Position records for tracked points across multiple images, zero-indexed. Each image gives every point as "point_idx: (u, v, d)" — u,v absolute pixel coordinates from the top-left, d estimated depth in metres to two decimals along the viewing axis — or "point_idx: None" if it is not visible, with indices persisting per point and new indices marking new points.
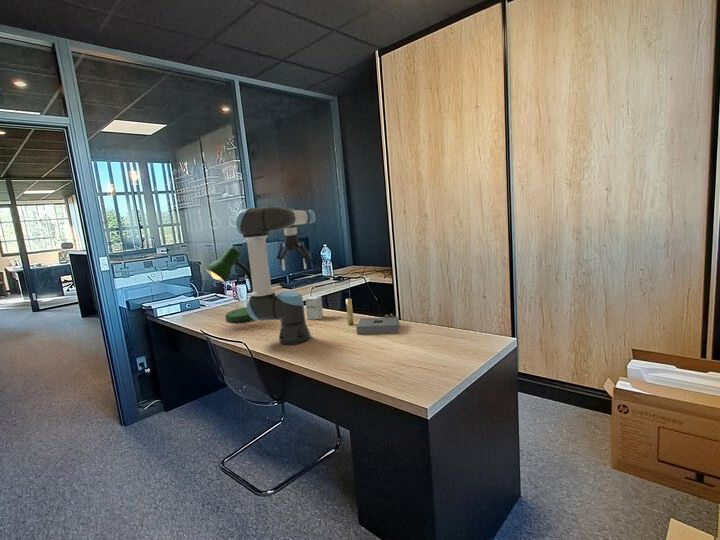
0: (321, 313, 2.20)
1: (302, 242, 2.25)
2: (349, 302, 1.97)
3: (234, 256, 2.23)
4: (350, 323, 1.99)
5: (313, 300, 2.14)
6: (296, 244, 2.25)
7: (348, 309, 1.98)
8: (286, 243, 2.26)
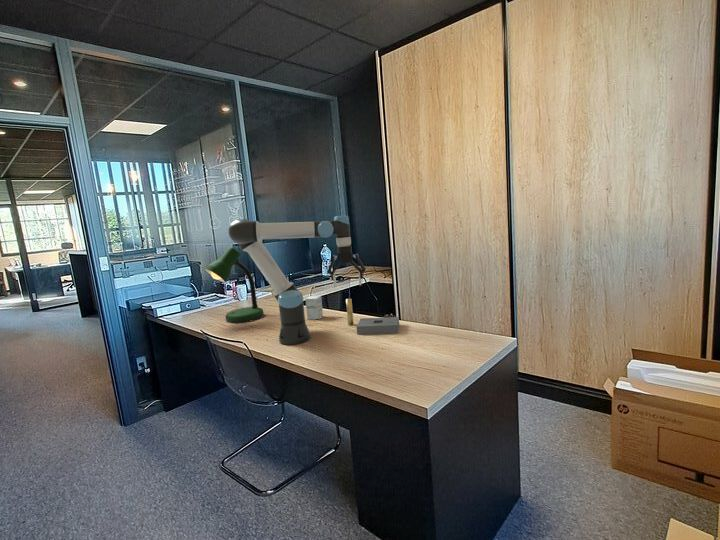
0: (321, 313, 2.20)
1: (357, 254, 1.94)
2: (349, 302, 1.97)
3: (234, 256, 2.23)
4: (350, 323, 1.99)
5: (313, 300, 2.14)
6: (350, 256, 1.94)
7: (348, 309, 1.98)
8: (338, 255, 1.94)
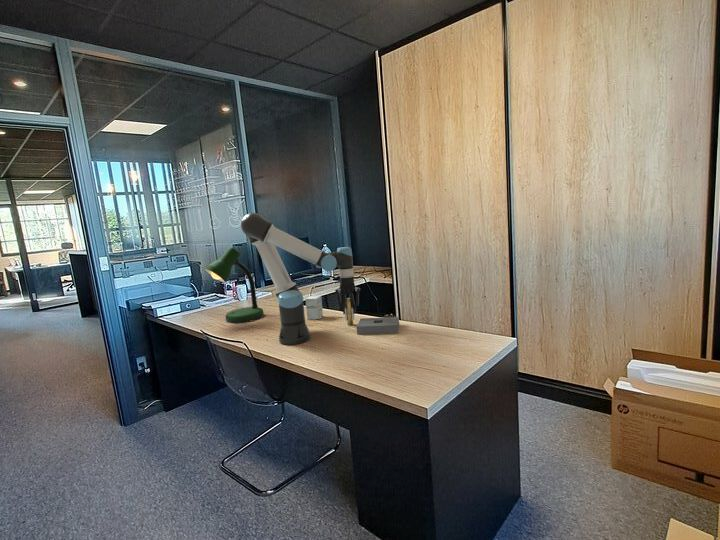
0: (321, 313, 2.20)
1: (359, 289, 1.96)
2: (349, 302, 1.97)
3: (234, 256, 2.23)
4: (350, 323, 1.99)
5: (313, 300, 2.14)
6: (352, 287, 1.96)
7: (348, 309, 1.98)
8: (340, 286, 1.97)
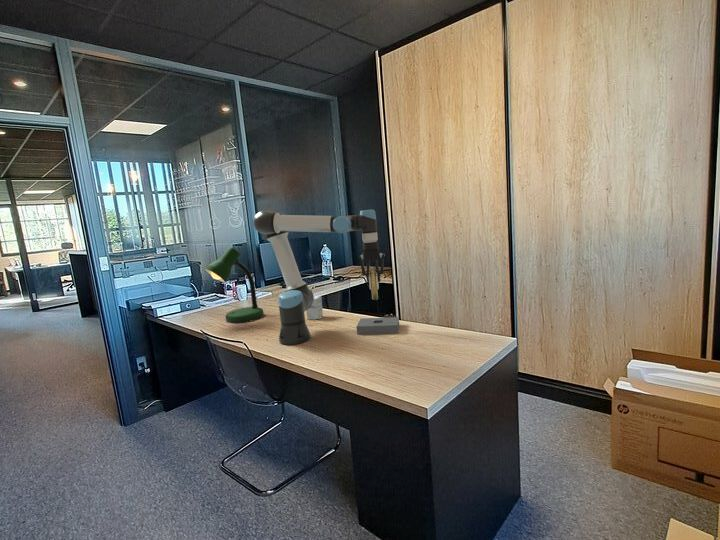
0: (321, 313, 2.20)
1: (384, 255, 1.83)
2: (373, 274, 1.84)
3: (234, 256, 2.23)
4: (375, 297, 1.85)
5: None
6: (377, 253, 1.82)
7: (372, 282, 1.84)
8: (364, 252, 1.83)
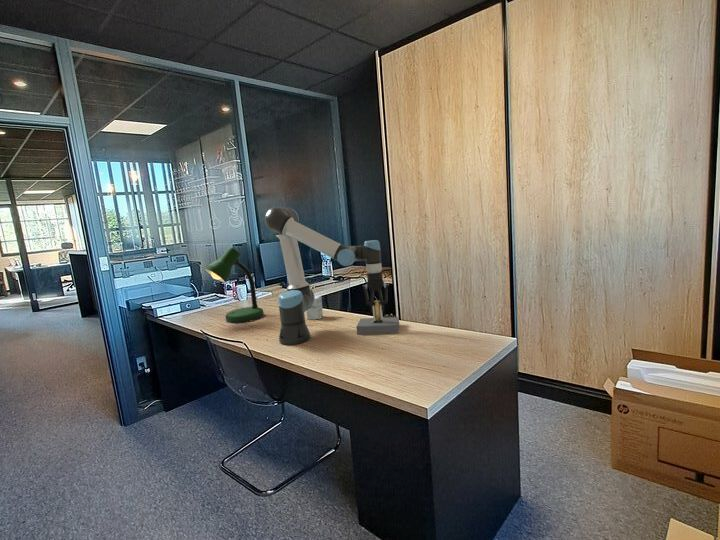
0: (321, 313, 2.20)
1: (388, 285, 1.84)
2: (377, 304, 1.85)
3: (234, 256, 2.23)
4: None
5: None
6: (381, 283, 1.83)
7: (376, 312, 1.85)
8: (368, 282, 1.84)
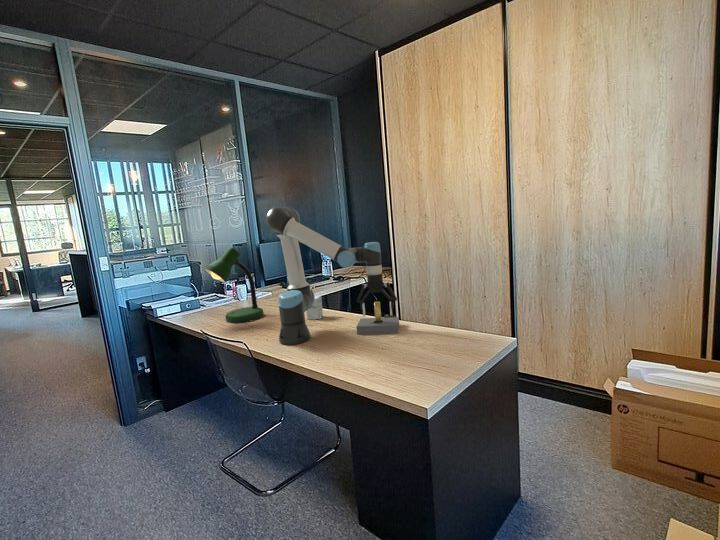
0: (321, 313, 2.20)
1: (388, 283, 1.84)
2: (377, 305, 1.85)
3: (234, 256, 2.23)
4: None
5: None
6: (381, 285, 1.83)
7: (376, 313, 1.85)
8: (369, 284, 1.84)
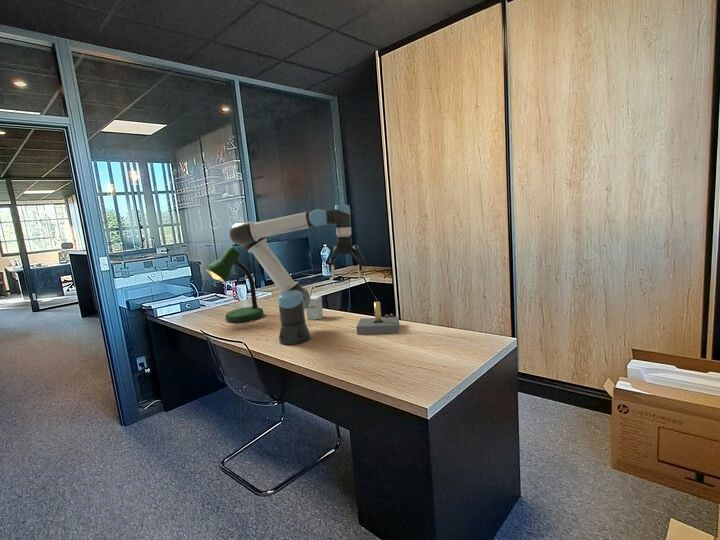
0: (321, 313, 2.20)
1: (357, 245, 1.87)
2: (377, 305, 1.85)
3: (234, 256, 2.23)
4: None
5: (313, 300, 2.14)
6: (350, 247, 1.86)
7: (376, 313, 1.85)
8: (338, 246, 1.87)
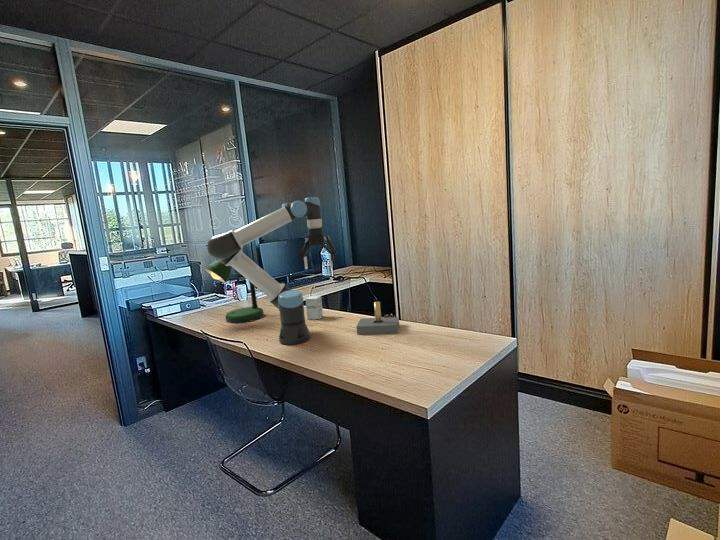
0: (321, 313, 2.20)
1: (328, 236, 1.92)
2: (377, 305, 1.85)
3: None
4: None
5: (313, 300, 2.14)
6: (321, 239, 1.92)
7: (376, 313, 1.85)
8: (309, 237, 1.93)
